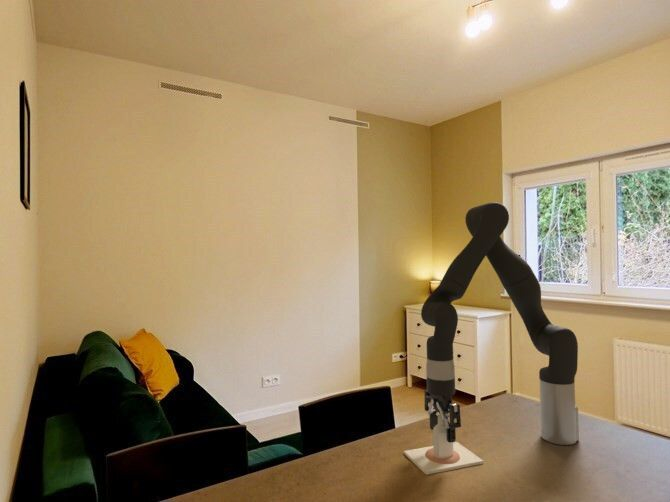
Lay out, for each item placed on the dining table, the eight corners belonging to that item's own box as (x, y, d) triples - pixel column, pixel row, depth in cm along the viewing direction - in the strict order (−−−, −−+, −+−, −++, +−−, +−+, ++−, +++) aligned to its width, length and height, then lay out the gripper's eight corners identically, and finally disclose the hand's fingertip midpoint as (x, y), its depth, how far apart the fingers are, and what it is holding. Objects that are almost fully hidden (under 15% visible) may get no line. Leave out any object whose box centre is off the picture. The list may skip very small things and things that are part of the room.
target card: (456, 444, 120) (456, 441, 120) (483, 463, 108) (483, 460, 108) (404, 453, 115) (403, 450, 115) (425, 474, 103) (425, 471, 103)
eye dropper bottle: (456, 459, 109) (454, 413, 109) (434, 459, 109) (433, 413, 109) (452, 451, 113) (450, 407, 114) (431, 451, 114) (430, 408, 114)
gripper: (468, 380, 106) (470, 444, 106) (438, 367, 120) (440, 423, 120) (442, 384, 104) (444, 448, 104) (415, 369, 118) (417, 427, 117)
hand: (442, 435), depth 112 cm, fingers open, 8 cm apart
